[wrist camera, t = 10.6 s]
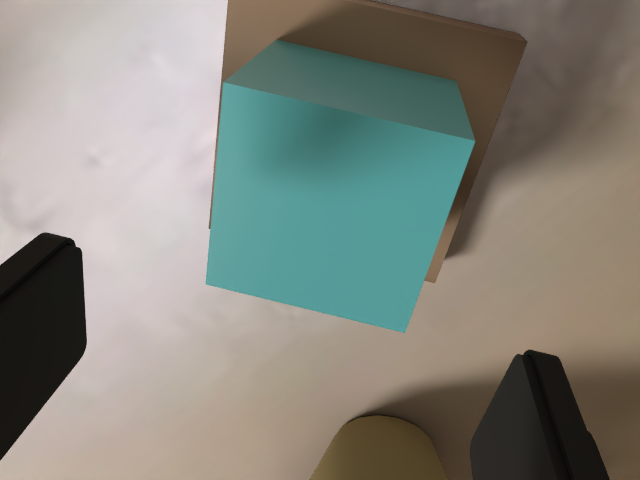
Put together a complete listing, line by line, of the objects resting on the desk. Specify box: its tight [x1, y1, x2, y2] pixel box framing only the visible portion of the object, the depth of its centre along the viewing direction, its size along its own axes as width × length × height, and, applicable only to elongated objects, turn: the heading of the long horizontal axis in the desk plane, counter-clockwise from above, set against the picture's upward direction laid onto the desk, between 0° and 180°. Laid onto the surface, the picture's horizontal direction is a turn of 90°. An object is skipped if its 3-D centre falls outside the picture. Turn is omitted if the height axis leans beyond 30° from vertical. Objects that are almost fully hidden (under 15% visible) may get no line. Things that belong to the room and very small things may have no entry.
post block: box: [209, 0, 527, 283], centre depth 19 cm, size 10×10×6 cm
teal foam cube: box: [206, 40, 475, 333], centre depth 17 cm, size 6×6×6 cm
